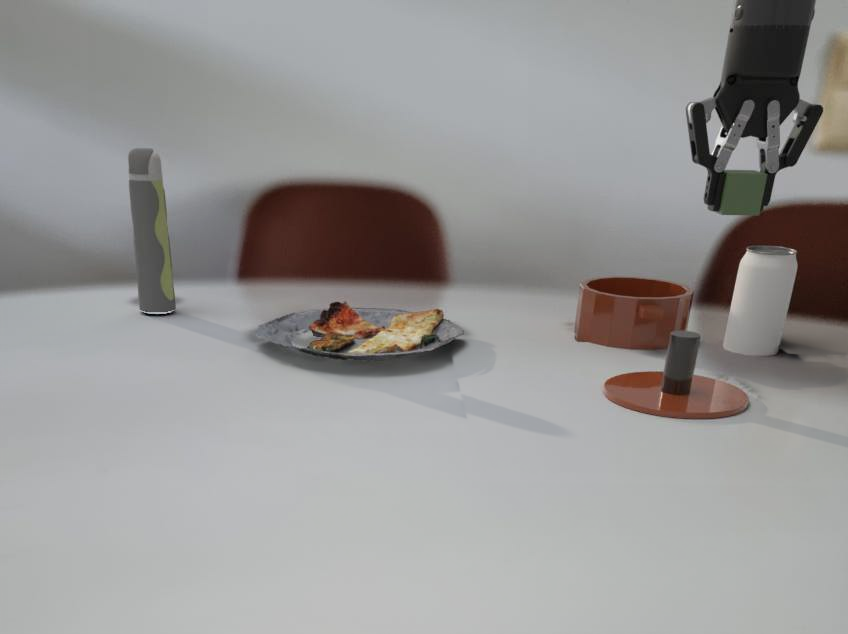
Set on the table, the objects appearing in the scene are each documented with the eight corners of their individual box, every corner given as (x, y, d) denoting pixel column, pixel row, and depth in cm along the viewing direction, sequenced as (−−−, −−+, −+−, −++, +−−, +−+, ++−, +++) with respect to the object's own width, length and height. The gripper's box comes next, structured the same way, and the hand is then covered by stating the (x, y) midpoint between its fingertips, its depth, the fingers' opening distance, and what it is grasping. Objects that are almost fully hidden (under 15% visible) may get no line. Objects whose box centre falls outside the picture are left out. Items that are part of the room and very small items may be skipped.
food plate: (325, 315, 133) (325, 288, 131) (486, 336, 124) (488, 308, 123) (224, 357, 114) (222, 326, 112) (406, 386, 105) (408, 353, 103)
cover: (721, 383, 108) (735, 318, 105) (766, 426, 96) (783, 354, 92) (590, 380, 108) (599, 316, 105) (618, 423, 96) (629, 351, 92)
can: (785, 353, 120) (810, 250, 114) (763, 363, 116) (787, 256, 109) (735, 343, 123) (756, 243, 117) (712, 353, 119) (733, 249, 113)
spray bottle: (182, 310, 134) (169, 148, 124) (165, 317, 130) (151, 150, 120) (150, 307, 135) (135, 146, 125) (133, 314, 131) (116, 149, 121)
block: (746, 210, 107) (754, 170, 105) (759, 215, 103) (767, 174, 101) (710, 209, 107) (717, 169, 104) (721, 215, 103) (729, 173, 101)
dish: (663, 323, 132) (671, 273, 129) (702, 361, 116) (713, 304, 113) (563, 321, 132) (569, 271, 129) (588, 359, 116) (596, 302, 113)
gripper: (827, 24, 99) (787, 207, 108) (688, 22, 99) (659, 205, 108) (859, 22, 93) (813, 216, 102) (710, 19, 93) (677, 214, 101)
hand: (734, 209), depth 105 cm, fingers closed on block, 4 cm apart
